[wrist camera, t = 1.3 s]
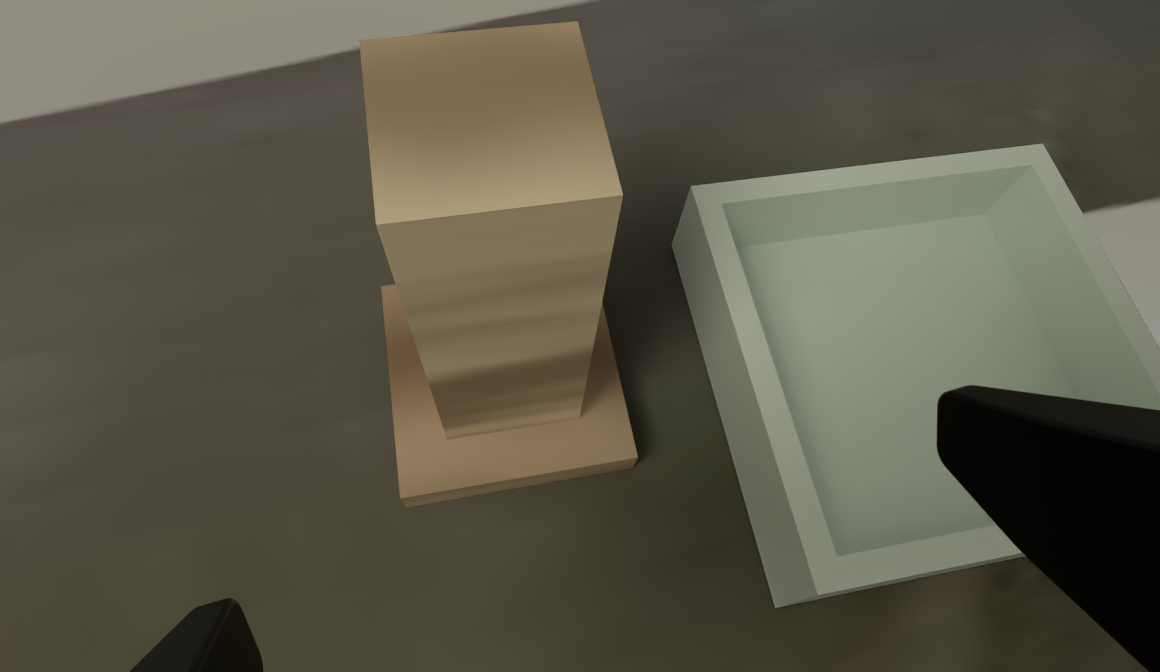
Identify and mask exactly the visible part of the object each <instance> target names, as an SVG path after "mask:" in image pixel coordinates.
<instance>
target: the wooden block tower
mask: <svg viewBox="0 0 1160 672" xmlns="http://www.w3.org/2000/svg"><path fill="white" fill-rule="evenodd" d="M360 52H361V63H362V74H363V85H364V96H365V107H366V118H367V129H368V141H369V152H370V163H371V174H372V185H373V196H374V207H375V218H376V226H377V229H378V232H379V235H380V238H381V241H382V244H383V247H384V250H385V253H386V256H387V259H388V262H389V265H390V268H391V271H392V275H393V278H394V281H395V285H388V286H381V289H382V300H383V311H384V323H385V334H386V345H387V356H388V367H389V378H390V389H391V400H392V411H393V422H394V434H395V445H396V456H397V467H398V478H399V489H400V499H401V500H402V502H403V503H404V505H405V506H406V507H413V506H419V505H424V504H430V503H436V502H442V501H447V500H453V499H459V498H465V497H470V496H476V495H482V494H488V493H493V492H499V491H505V490H510V489H516V488H522V487H528V486H533V485H539V484H545V483H551V482H556V481H562V480H568V479H574V478H579V477H585V476H591V475H597V474H602V473H608V472H614V471H620V470H625V469H631V468H633V467H634V465H635V463H636V461H637V459H638V455H637V451H636V447H635V442H634V438H633V434H632V429H631V425H630V421H629V416H628V412H627V408H626V403H625V399H624V395H623V390H622V386H621V382H620V377H619V373H618V369H617V364H616V360H615V356H614V351H613V347H612V343H611V338H610V334H609V330H608V325H607V321H606V317H605V312H604V308H603V304H602V300H603V295H604V290H605V285H606V280H607V275H608V269H609V264H610V259H611V254H612V249H613V244H614V239H615V234H616V229H617V224H618V218H619V213H620V208H621V203H622V198H623V193H622V189H621V185H620V182H619V178H618V174H617V170H616V166H615V162H614V159H613V155H612V151H611V147H610V143H609V140H608V136H607V132H606V128H605V124H604V120H603V117H602V113H601V109H600V105H599V101H598V98H597V94H596V90H595V86H594V82H593V78H592V75H591V71H590V67H589V63H588V59H587V56H586V52H585V48H584V44H583V40H582V37H581V33H580V29H579V25H578V21H576V22H565V23H553V24H542V25H530V26H518V27H507V28H495V29H484V30H472V31H460V32H449V33H437V34H426V35H414V36H403V37H391V38H380V39H368V40H360Z"/></svg>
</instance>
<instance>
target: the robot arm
mask: <svg viewBox="0 0 1160 672" xmlns="http://www.w3.org/2000/svg"><path fill="white" fill-rule="evenodd" d="M936 445H937V452H938V455H939V458H940V460H941V461H942V463H943V465H944V466H945V467H946V468H947V470H948V471H949V472H950V473H951V474H952V475H953V476H954V477H955V479H956V480H957V481H958V482H959V483H960V484H961V485H962V486H963V488H964V489H965V490H966V491H967V492H968V493H969V494H970V495H971V497H972V498H973V499H974V500H975V501H976V502H977V503H978V504H979V506H980V507H981V508H982V509H983V510H984V511H985V512H986V513H987V515H988V516H989V517H990V518H991V519H992V520H993V521H994V522H995V524H996V525H997V526H998V527H999V528H1000V529H1001V530H1002V531H1003V533H1004V534H1005V535H1006V536H1007V537H1008V538H1009V539H1010V540H1011V541H1012V542H1013V543H1014V545H1015V546H1016V547H1017V548H1018V549H1019V550H1020V551H1021V552H1022V553H1023V554H1024V555H1025V556H1026V557H1027V558H1028V559H1029V560H1030V561H1031V562H1032V563H1033V564H1034V565H1035V566H1036V567H1037V568H1039V569H1040V570H1041V571H1042V572H1043V573H1044V574H1045V575H1046V576H1047V577H1048V578H1049V579H1050V580H1051V581H1052V582H1053V583H1055V584H1056V585H1057V586H1058V587H1059V588H1060V589H1061V590H1062V591H1063V592H1064V593H1065V594H1066V595H1067V596H1068V597H1070V598H1071V599H1072V600H1073V601H1074V602H1075V603H1076V604H1077V605H1078V606H1079V607H1080V608H1081V609H1082V610H1083V611H1084V612H1086V613H1087V614H1088V615H1089V616H1090V617H1091V618H1092V619H1093V620H1094V621H1095V622H1096V623H1097V624H1098V625H1099V626H1100V627H1102V628H1103V629H1104V630H1105V631H1106V632H1107V633H1108V634H1109V635H1110V636H1111V637H1112V638H1113V639H1114V640H1115V641H1116V642H1118V643H1119V644H1120V645H1121V646H1122V647H1123V648H1124V649H1125V650H1126V651H1127V652H1128V653H1129V654H1130V655H1131V656H1133V657H1134V658H1135V659H1136V660H1137V661H1138V662H1139V663H1140V664H1141V665H1142V666H1143V667H1144V668H1145V669H1146V670H1147V671H1149V672H1160V410H1155V409H1147V408H1140V407H1132V406H1125V405H1118V404H1110V403H1103V402H1095V401H1088V400H1081V399H1073V398H1066V397H1059V396H1051V395H1044V394H1036V393H1029V392H1022V391H1014V390H1007V389H999V388H992V387H985V386H977V385H967V386H963V387H959V388H956V389H952V390H949V391H946V392H944V393H943V394H942V395H941V396H940V397H939V399H938V403H937V443H936ZM130 672H263V664H262V659H261V655H260V652H259V649H258V647H257V644H256V642H255V640H254V637H253V635H252V632H251V630H250V627H249V625H248V623H247V620H246V618H245V615H244V613H243V611H242V608H241V606H240V605H239V603H238V602H237V601H236V600H234V599H232V598H227V599H223V600H220V601H216V602H213V603H209V604H206V605H202V606H199V607H197V608H195V609H193V610H192V611H191V612H190V613H189V614H188V615H187V616H186V617H185V618H184V619H183V620H182V621H181V622H180V623H179V624H178V625H177V626H176V627H175V628H173V629H172V630H171V631H170V632H169V633H168V634H167V635H166V636H165V637H164V638H163V639H162V640H161V641H160V642H159V643H158V644H157V645H156V646H155V647H154V648H153V649H152V650H151V651H150V652H149V653H148V654H147V655H146V656H145V657H144V658H143V659H142V660H141V661H140V662H139V663H138V664H137V665H136V666H135V667H134V668H133V669H132V670H131V671H130Z"/></svg>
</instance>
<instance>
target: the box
mask: <svg viewBox="0 0 1160 672" xmlns="http://www.w3.org/2000/svg"><path fill="white" fill-rule="evenodd" d="M672 249H673V252H674V256H675V259H676V263H677V266H678V270H679V273H680V277H681V280H682V284H683V287H684V291H685V294H686V298H687V301H688V305H689V308H690V312H691V315H692V319H693V322H694V326H695V329H696V333H697V336H698V340H699V343H700V347H701V350H702V354H703V357H704V361H705V364H706V368H707V371H708V375H709V378H710V382H711V385H712V389H713V392H714V396H715V399H716V403H717V406H718V410H719V413H720V417H721V420H722V424H723V427H724V431H725V434H726V438H727V441H728V445H729V448H730V452H731V455H732V459H733V462H734V466H735V469H736V473H737V476H738V480H739V483H740V487H741V490H742V494H743V497H744V501H745V504H746V508H747V512H748V515H749V519H750V522H751V526H752V529H753V533H754V536H755V540H756V543H757V547H758V550H759V554H760V557H761V561H762V564H763V568H764V571H765V575H766V578H767V582H768V585H769V589H770V592H771V596H772V599H773V603H774V606H775V608H778V607H783V606H788V605H793V604H797V603H802V602H807V601H812V600H817V599H822V598H826V597H831V596H836V595H841V594H846V593H851V592H855V591H860V590H865V589H870V588H875V587H879V586H884V585H889V584H894V583H899V582H904V581H908V580H913V579H918V578H923V577H928V576H933V575H937V574H942V573H947V572H952V571H957V570H961V569H966V568H971V567H976V566H981V565H986V564H990V563H995V562H1000V561H1005V560H1010V559H1014V558H1019V557H1024V556H1025V555H1024V554H1023V553H1022V552H1021V551H1020V550H1019V549H1018V548H1017V547H1016V546H1015V545H1014V543H1013V542H1012V541H1011V540H1010V539H1009V538H1008V537H1007V536H1006V535H1005V534H1004V533H1003V531H1002V530H1001V529H1000V528H999V527H998V526H997V525H996V524H995V522H994V521H993V520H992V519H991V518H990V517H989V516H988V515H987V513H986V512H985V511H984V510H983V509H982V508H981V507H980V506H979V504H978V503H977V502H976V501H975V500H974V499H973V498H972V497H971V495H970V494H969V493H968V492H967V491H966V490H965V489H964V488H963V486H962V485H961V484H960V483H959V482H958V481H957V480H956V479H955V477H954V476H953V475H952V474H951V473H950V472H949V471H948V470H947V468H946V467H945V466H944V465H943V463H942V461H941V460H940V458H939V455H938V452H937V445H936V443H937V403H938V399H939V397H940V396H941V395H942V394H943V393H944V392H946V391H949V390H952V389H956V388H959V387H963V386H967V385H977V386H985V387H992V388H999V389H1007V390H1014V391H1022V392H1029V393H1036V394H1044V395H1051V396H1059V397H1066V398H1073V399H1081V400H1088V401H1095V402H1103V403H1110V404H1118V405H1125V406H1132V407H1140V408H1147V409H1155V410H1160V348H1159V346H1158V345H1157V343H1156V341H1155V339H1154V338H1153V336H1152V334H1151V332H1150V331H1149V329H1148V327H1147V325H1146V324H1145V322H1144V320H1143V318H1142V317H1141V315H1140V314H1139V311H1138V310H1137V308H1136V306H1135V304H1134V303H1133V301H1132V299H1131V298H1130V296H1129V294H1128V292H1127V290H1126V289H1125V287H1124V285H1123V283H1122V282H1121V280H1120V279H1119V276H1118V275H1117V273H1116V271H1115V270H1114V268H1113V266H1112V264H1111V262H1110V261H1109V259H1108V257H1107V255H1106V254H1105V252H1104V250H1103V249H1102V247H1101V245H1100V243H1099V241H1098V240H1097V238H1096V236H1095V234H1094V233H1093V231H1092V229H1091V227H1090V226H1089V224H1088V222H1087V220H1086V219H1085V217H1084V215H1083V213H1082V212H1081V210H1080V208H1079V206H1078V205H1077V203H1076V201H1075V199H1074V198H1073V196H1072V194H1071V192H1070V191H1069V189H1068V187H1067V185H1066V184H1065V182H1064V180H1063V178H1062V177H1061V175H1060V173H1059V171H1058V170H1057V168H1056V166H1055V164H1054V163H1053V161H1052V159H1051V157H1050V156H1049V154H1048V152H1047V150H1046V149H1045V147H1044V145H1043V144H1036V145H1027V146H1019V147H1011V148H1003V149H994V150H986V151H978V152H969V153H961V154H953V155H945V156H936V157H928V158H920V159H911V160H903V161H895V162H887V163H878V164H870V165H862V166H853V167H845V168H837V169H829V170H820V171H812V172H804V173H795V174H787V175H779V176H771V177H762V178H754V179H746V180H738V181H729V182H721V183H713V184H704V185H696V186H691V187H690V190H689V193H688V196H687V199H686V202H685V206H684V209H683V212H682V215H681V218H680V221H679V224H678V227H677V230H676V233H675V236H674V239H673V242H672Z"/></svg>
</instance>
